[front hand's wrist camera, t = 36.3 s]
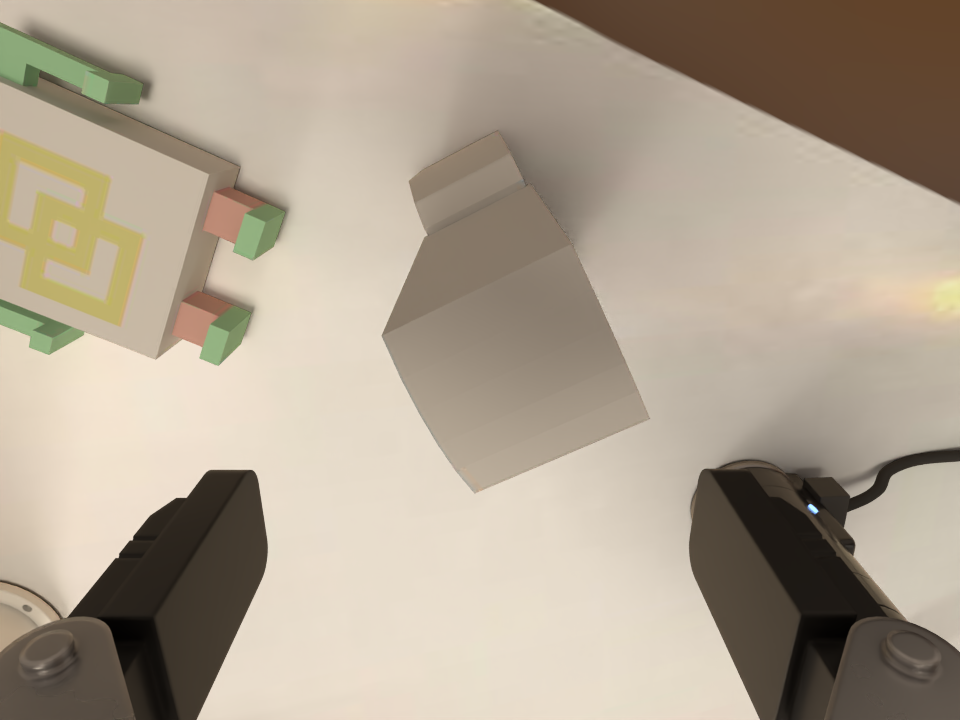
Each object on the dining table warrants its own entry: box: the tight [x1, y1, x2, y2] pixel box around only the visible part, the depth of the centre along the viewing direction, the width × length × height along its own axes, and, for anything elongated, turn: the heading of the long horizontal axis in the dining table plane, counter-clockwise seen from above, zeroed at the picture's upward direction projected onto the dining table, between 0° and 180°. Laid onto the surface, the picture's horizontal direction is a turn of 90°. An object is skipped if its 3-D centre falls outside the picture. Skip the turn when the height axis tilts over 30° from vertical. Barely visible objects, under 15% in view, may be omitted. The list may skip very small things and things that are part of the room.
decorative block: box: [0, 22, 285, 366], centre depth 44 cm, size 26×6×20 cm
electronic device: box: [382, 130, 650, 493], centre depth 34 cm, size 12×8×30 cm, turn 27°
